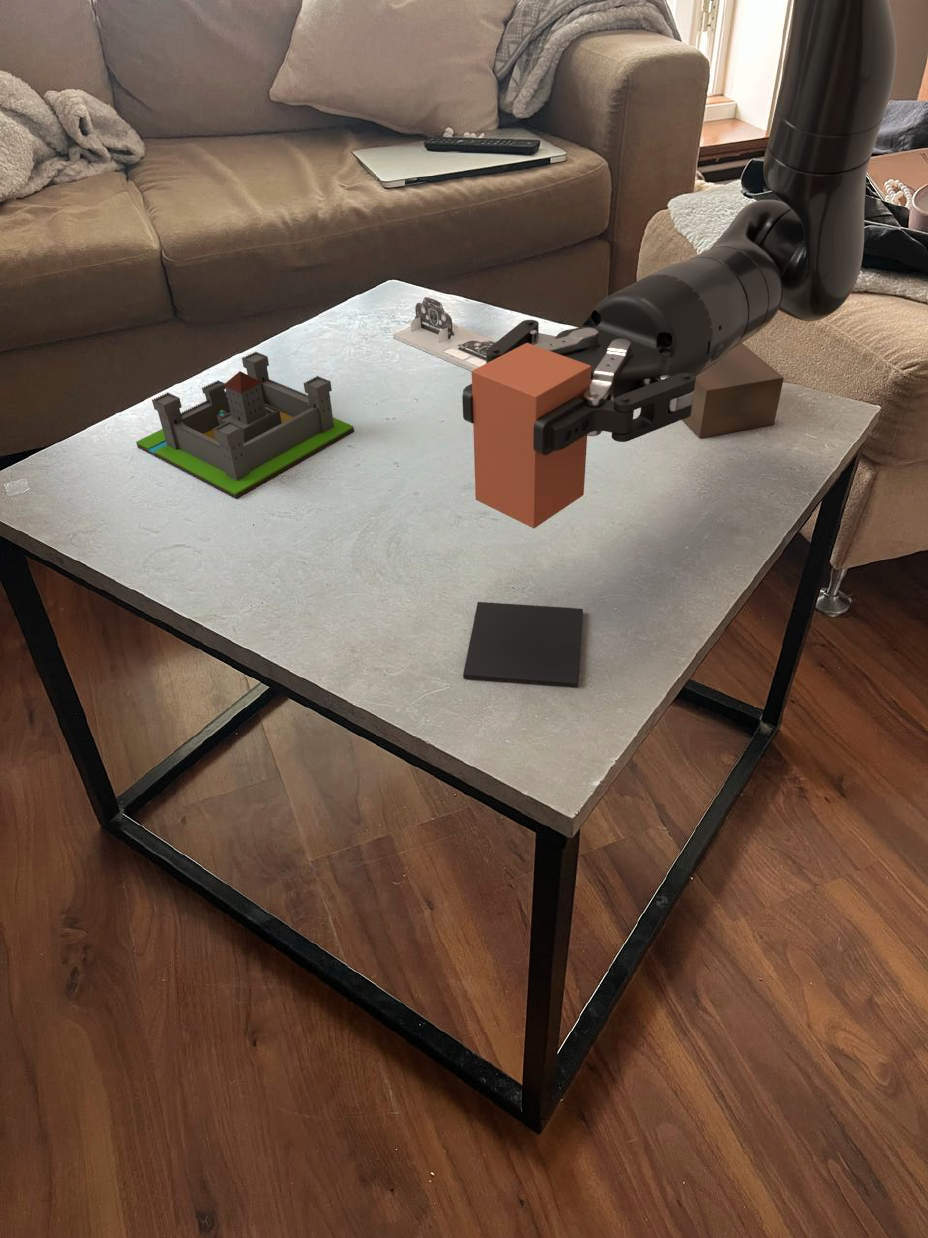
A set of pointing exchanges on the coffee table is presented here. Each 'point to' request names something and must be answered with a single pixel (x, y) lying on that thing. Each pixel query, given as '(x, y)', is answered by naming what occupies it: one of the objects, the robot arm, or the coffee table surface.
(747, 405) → the base block
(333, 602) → the coffee table surface
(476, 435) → the top block
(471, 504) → the coffee table surface
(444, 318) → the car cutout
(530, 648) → the felt mat
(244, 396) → the castle model
